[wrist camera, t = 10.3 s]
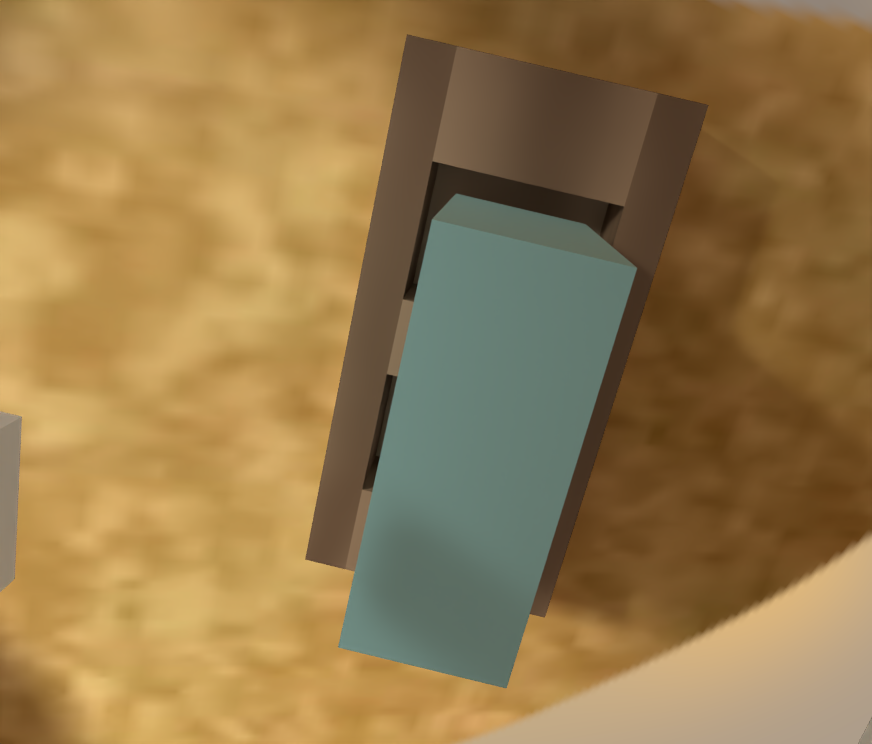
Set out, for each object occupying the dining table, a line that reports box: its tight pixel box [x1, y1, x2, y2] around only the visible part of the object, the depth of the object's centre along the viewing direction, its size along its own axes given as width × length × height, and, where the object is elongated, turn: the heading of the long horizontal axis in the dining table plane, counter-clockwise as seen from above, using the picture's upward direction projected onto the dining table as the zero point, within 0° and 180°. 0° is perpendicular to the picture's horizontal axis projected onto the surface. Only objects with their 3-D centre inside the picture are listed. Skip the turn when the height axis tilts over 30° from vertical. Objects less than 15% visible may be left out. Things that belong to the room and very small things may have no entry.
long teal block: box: [338, 194, 637, 688], centre depth 21 cm, size 4×10×12 cm, turn 167°
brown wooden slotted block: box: [306, 35, 708, 617], centre depth 26 cm, size 9×18×4 cm, turn 167°
